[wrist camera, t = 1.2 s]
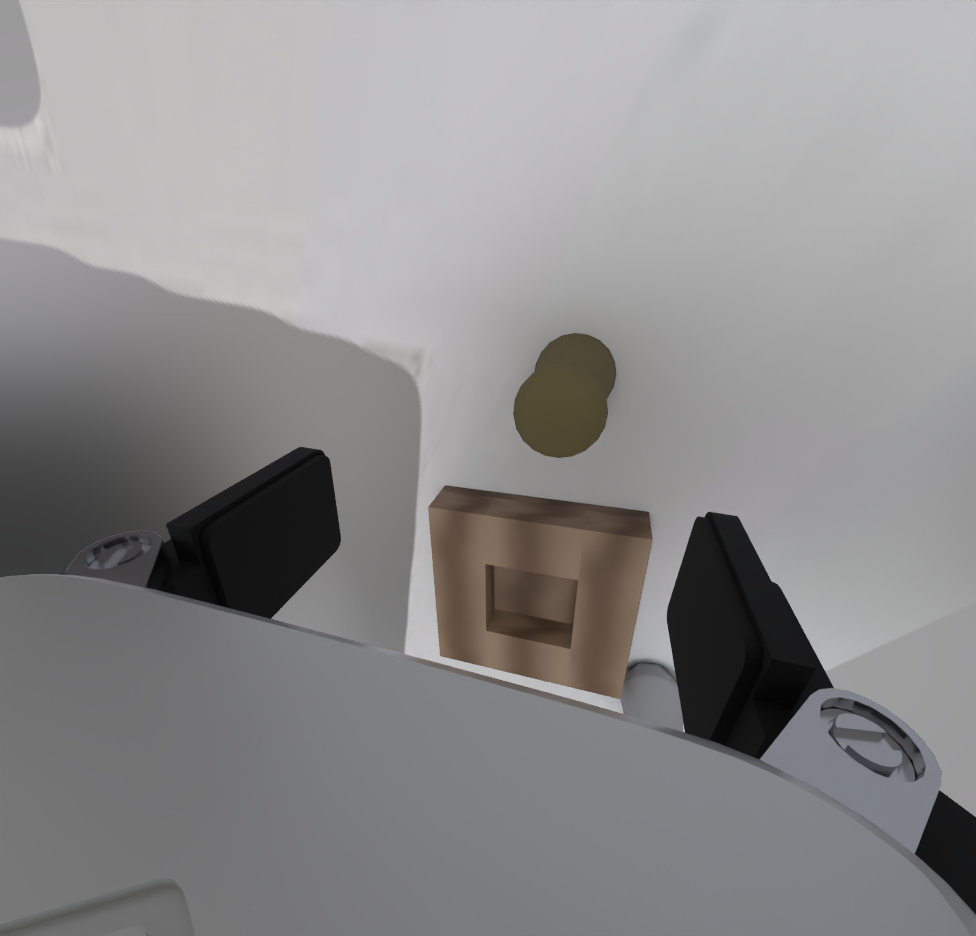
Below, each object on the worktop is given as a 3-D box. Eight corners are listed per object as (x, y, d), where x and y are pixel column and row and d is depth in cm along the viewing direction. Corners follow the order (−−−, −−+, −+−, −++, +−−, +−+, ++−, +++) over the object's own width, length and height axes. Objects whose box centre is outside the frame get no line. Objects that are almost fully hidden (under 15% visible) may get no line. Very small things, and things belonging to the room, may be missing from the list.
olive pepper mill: (519, 384, 33) (480, 432, 23) (565, 316, 30) (540, 339, 20) (582, 427, 33) (568, 493, 23) (633, 364, 30) (641, 409, 20)
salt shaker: (687, 664, 40) (715, 821, 29) (674, 703, 42) (695, 860, 31) (624, 650, 41) (627, 793, 30) (615, 688, 44) (614, 834, 33)
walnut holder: (648, 512, 34) (652, 539, 31) (620, 663, 42) (620, 699, 39) (445, 485, 39) (428, 507, 35) (453, 627, 47) (440, 656, 43)
